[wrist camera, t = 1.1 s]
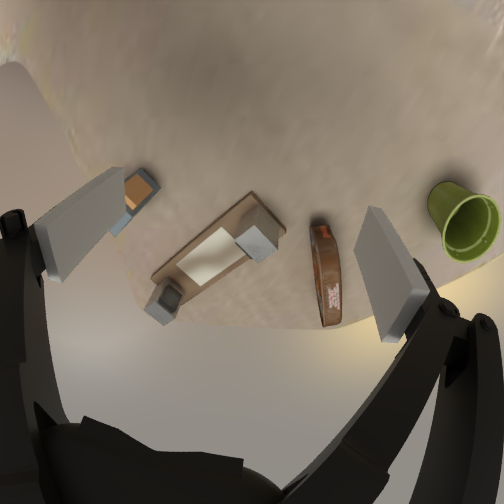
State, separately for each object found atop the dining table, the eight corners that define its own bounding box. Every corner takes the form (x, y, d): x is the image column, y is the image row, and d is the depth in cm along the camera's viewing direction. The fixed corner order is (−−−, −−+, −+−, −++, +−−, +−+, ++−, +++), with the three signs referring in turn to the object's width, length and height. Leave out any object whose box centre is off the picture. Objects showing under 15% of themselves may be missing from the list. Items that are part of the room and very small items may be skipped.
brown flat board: (152, 274, 46) (149, 279, 45) (251, 191, 37) (250, 194, 36) (183, 300, 49) (181, 305, 48) (286, 228, 40) (286, 233, 38)
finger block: (125, 186, 38) (92, 214, 31) (144, 164, 36) (111, 188, 29) (144, 205, 40) (115, 237, 32) (164, 184, 38) (136, 212, 30)
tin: (307, 215, 38) (312, 249, 31) (330, 212, 38) (340, 246, 31) (316, 300, 46) (320, 340, 39) (335, 297, 45) (342, 337, 38)
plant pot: (445, 240, 38) (470, 274, 30) (404, 211, 36) (429, 243, 29) (478, 192, 33) (510, 220, 25) (440, 157, 31) (474, 179, 24)
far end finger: (156, 284, 46) (143, 309, 41) (169, 274, 44) (156, 299, 39) (174, 300, 47) (163, 325, 42) (188, 290, 46) (177, 316, 41)
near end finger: (237, 219, 38) (230, 243, 33) (258, 203, 37) (254, 225, 32) (258, 240, 40) (253, 266, 35) (279, 225, 38) (277, 249, 33)
